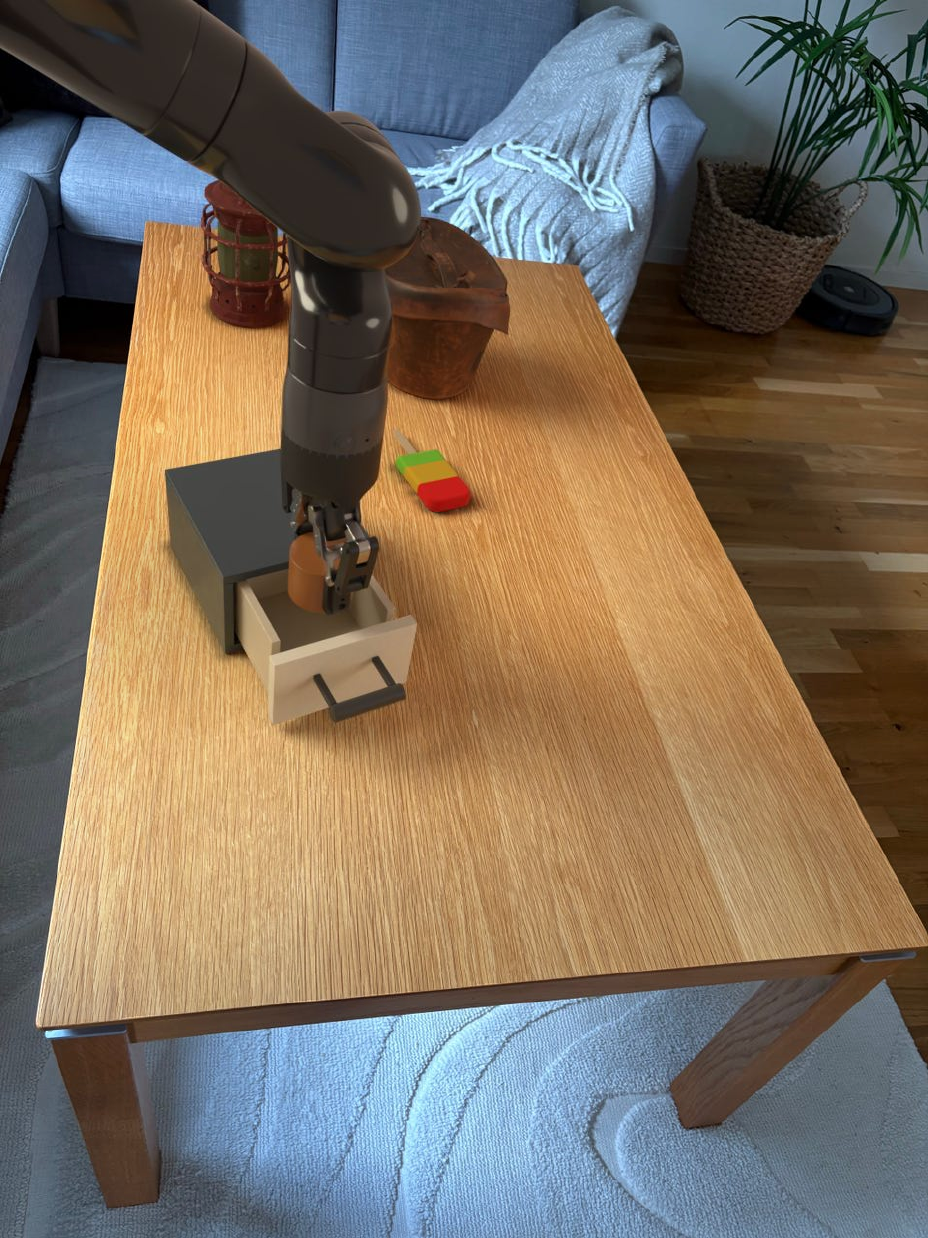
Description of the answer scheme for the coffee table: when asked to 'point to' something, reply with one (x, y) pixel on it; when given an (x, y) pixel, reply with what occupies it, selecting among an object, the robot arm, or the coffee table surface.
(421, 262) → the case
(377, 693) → the drawer
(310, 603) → the orange brown cylinder
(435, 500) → the popsicle
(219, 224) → the lantern
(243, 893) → the coffee table surface
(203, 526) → the cabinet
